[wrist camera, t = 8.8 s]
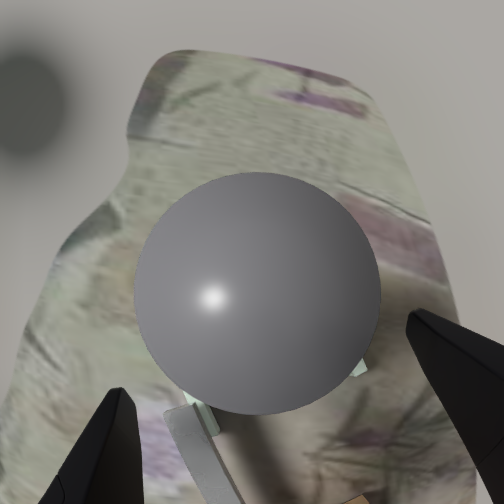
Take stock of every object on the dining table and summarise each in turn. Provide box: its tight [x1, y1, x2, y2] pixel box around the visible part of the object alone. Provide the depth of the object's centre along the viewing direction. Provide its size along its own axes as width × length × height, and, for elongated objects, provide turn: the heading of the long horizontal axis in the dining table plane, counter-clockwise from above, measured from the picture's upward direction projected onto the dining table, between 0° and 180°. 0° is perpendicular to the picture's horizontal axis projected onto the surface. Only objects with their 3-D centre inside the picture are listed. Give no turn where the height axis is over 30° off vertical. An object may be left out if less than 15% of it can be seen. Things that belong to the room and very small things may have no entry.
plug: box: [134, 172, 381, 415], centre depth 12 cm, size 7×7×13 cm
